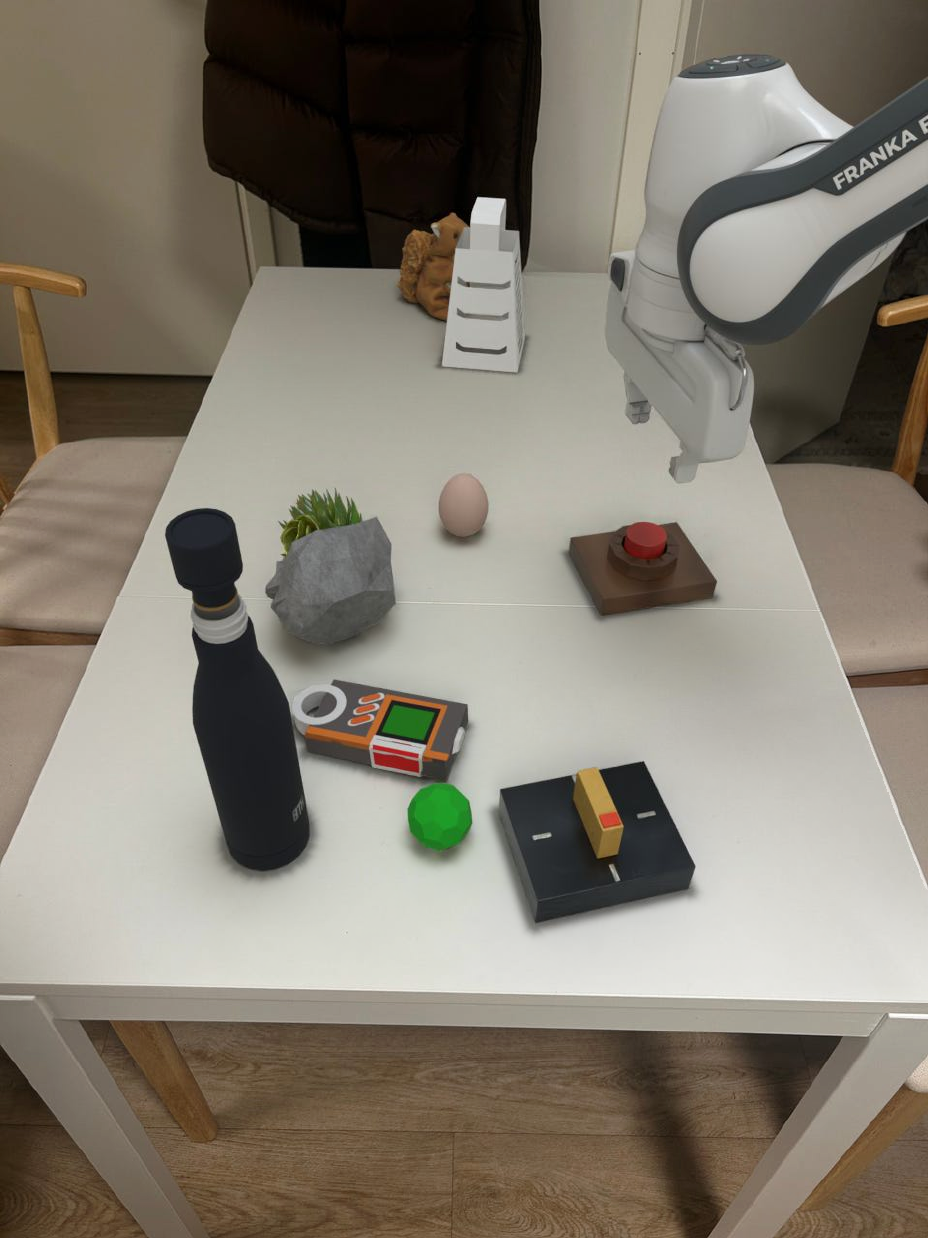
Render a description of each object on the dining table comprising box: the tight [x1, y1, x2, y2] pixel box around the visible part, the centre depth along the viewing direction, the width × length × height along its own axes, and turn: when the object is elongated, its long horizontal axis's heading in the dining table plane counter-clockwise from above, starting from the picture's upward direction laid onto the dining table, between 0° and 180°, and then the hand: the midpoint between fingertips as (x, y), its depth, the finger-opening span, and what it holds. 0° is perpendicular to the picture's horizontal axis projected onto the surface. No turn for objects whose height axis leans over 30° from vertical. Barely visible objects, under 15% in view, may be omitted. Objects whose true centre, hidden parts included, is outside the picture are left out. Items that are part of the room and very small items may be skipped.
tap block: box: [498, 760, 697, 924], centre depth 71 cm, size 12×10×3 cm
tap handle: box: [573, 766, 624, 859], centre depth 69 cm, size 6×2×4 cm, turn 14°
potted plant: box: [264, 487, 397, 646], centre depth 88 cm, size 12×13×15 cm
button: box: [624, 521, 667, 559], centre depth 93 cm, size 4×4×2 cm
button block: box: [568, 521, 718, 616], centre depth 95 cm, size 12×10×4 cm
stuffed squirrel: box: [396, 212, 471, 322], centre depth 139 cm, size 10×14×13 cm
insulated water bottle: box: [164, 507, 311, 872], centre depth 62 cm, size 6×6×30 cm
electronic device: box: [291, 679, 469, 781], centre depth 79 cm, size 7×3×15 cm
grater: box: [441, 196, 526, 373], centre depth 125 cm, size 10×10×20 cm
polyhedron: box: [407, 782, 473, 851], centre depth 71 cm, size 5×5×5 cm
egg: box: [437, 472, 489, 538], centre depth 99 cm, size 5×5×7 cm
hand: (657, 447), depth 81 cm, fingers open, 8 cm apart
